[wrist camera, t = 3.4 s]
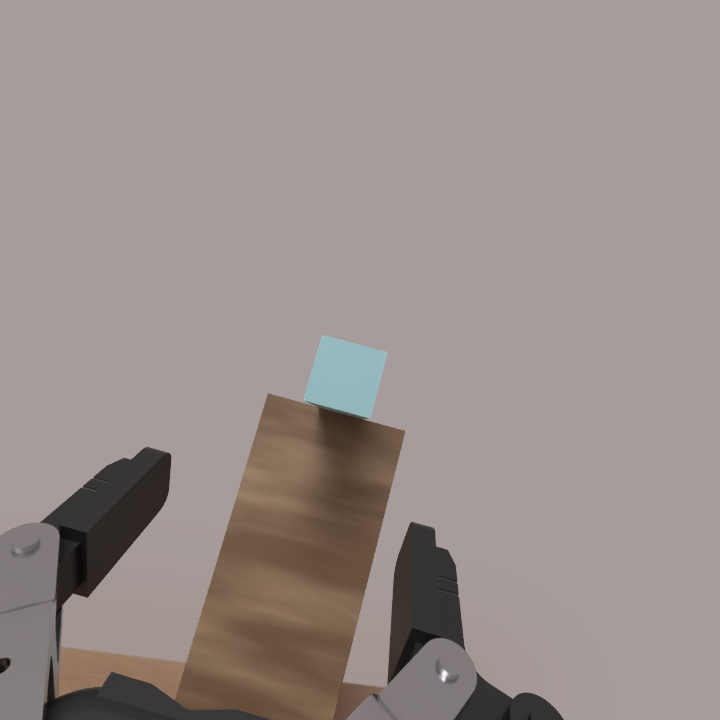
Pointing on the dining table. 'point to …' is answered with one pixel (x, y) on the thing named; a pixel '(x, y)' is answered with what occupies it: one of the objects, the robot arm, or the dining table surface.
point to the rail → (345, 377)
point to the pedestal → (293, 565)
